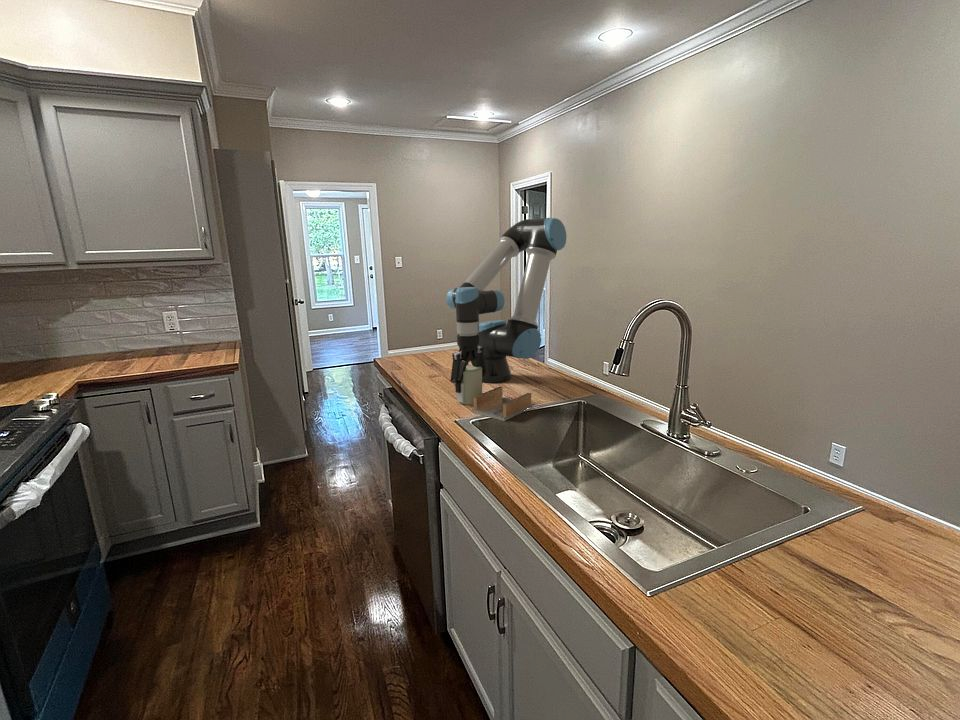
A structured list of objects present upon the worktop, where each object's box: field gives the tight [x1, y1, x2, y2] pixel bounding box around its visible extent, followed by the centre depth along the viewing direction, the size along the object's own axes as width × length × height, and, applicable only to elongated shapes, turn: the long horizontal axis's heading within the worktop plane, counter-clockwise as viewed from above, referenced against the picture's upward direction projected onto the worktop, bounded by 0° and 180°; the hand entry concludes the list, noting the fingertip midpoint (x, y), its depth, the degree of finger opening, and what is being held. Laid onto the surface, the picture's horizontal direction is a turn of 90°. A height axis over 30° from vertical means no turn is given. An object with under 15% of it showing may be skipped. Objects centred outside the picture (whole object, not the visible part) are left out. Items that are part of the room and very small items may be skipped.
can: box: [456, 364, 483, 406], centre depth 164 cm, size 9×9×12 cm
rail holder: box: [471, 386, 534, 422], centre depth 155 cm, size 16×13×5 cm
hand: (469, 397), depth 166 cm, fingers open, 9 cm apart
